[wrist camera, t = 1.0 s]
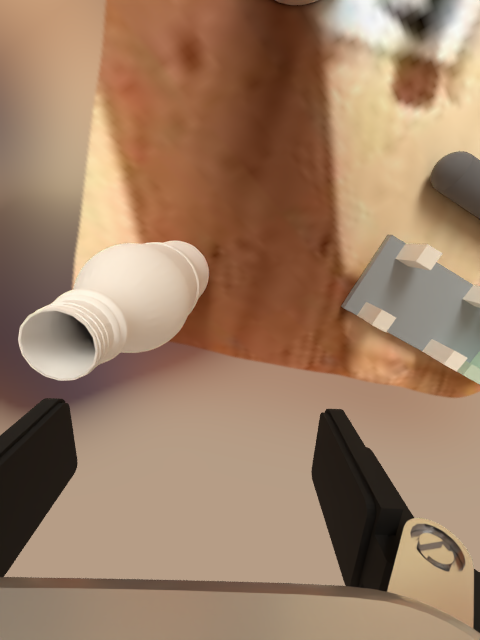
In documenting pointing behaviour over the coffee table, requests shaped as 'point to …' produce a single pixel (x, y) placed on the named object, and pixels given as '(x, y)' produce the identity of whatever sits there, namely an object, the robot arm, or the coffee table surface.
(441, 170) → the grey rounded bar
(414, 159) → the coffee table surface
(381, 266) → the board
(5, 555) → the robot arm
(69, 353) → the water bottle
